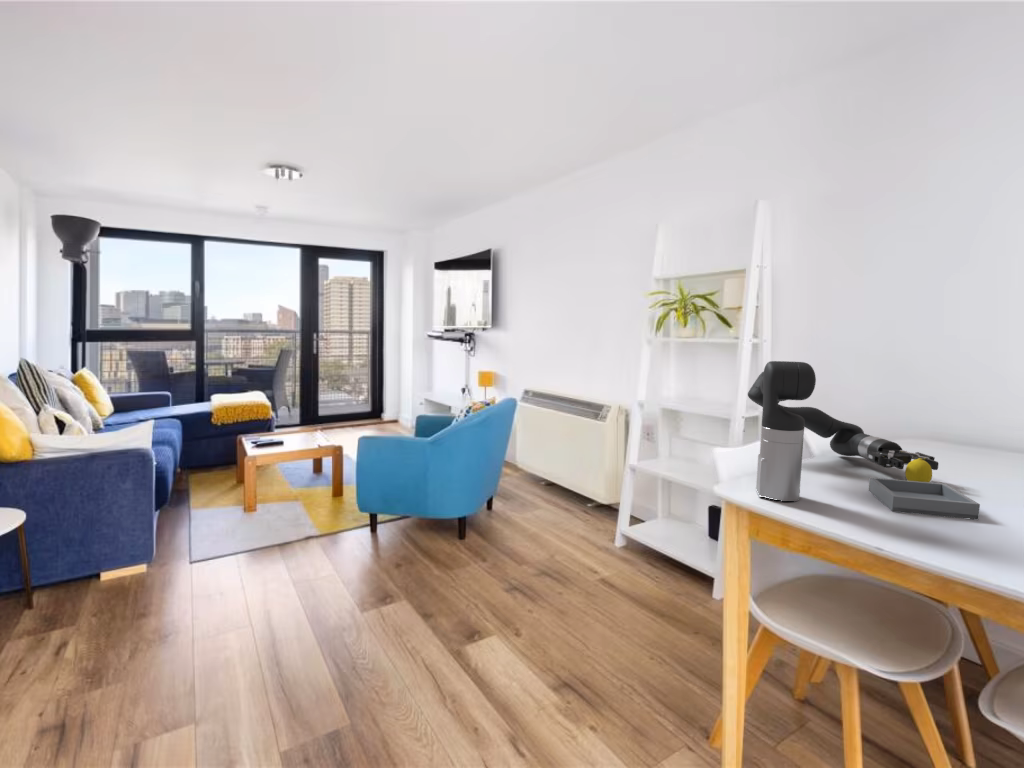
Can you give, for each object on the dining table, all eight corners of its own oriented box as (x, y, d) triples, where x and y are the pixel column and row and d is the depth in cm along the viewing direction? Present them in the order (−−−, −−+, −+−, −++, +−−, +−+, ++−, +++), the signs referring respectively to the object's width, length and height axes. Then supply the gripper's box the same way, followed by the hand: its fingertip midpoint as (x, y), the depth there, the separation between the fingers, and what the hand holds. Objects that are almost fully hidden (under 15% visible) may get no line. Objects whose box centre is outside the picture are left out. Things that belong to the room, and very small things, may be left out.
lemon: (935, 492, 134) (938, 461, 133) (910, 490, 135) (913, 460, 134) (923, 485, 139) (926, 456, 138) (899, 484, 140) (902, 455, 139)
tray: (892, 511, 119) (893, 496, 119) (868, 490, 134) (869, 477, 134) (978, 519, 114) (979, 504, 114) (943, 497, 129) (945, 483, 129)
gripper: (855, 438, 152) (892, 451, 136) (906, 439, 151) (949, 452, 135) (853, 463, 153) (890, 479, 137) (903, 464, 152) (946, 480, 136)
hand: (919, 465), depth 136 cm, fingers open, 8 cm apart
